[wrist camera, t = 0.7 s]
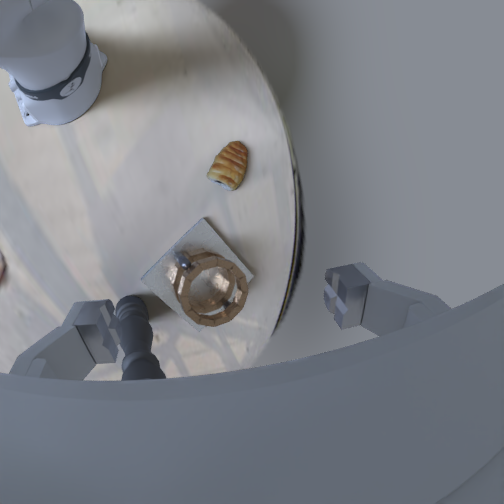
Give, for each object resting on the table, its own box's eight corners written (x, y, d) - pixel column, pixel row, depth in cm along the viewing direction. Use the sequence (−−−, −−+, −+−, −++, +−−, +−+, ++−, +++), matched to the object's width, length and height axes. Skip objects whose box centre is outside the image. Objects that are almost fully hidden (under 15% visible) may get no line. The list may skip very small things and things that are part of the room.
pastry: (223, 135, 49) (231, 132, 46) (251, 151, 52) (261, 149, 49) (202, 179, 49) (209, 178, 46) (233, 193, 53) (241, 194, 49)
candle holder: (123, 290, 46) (132, 369, 25) (152, 304, 49) (182, 385, 28) (110, 317, 46) (114, 406, 24) (138, 330, 49) (161, 420, 27)
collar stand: (140, 278, 47) (145, 298, 39) (201, 217, 50) (220, 223, 42) (197, 328, 55) (213, 353, 46) (250, 274, 58) (275, 289, 49)
